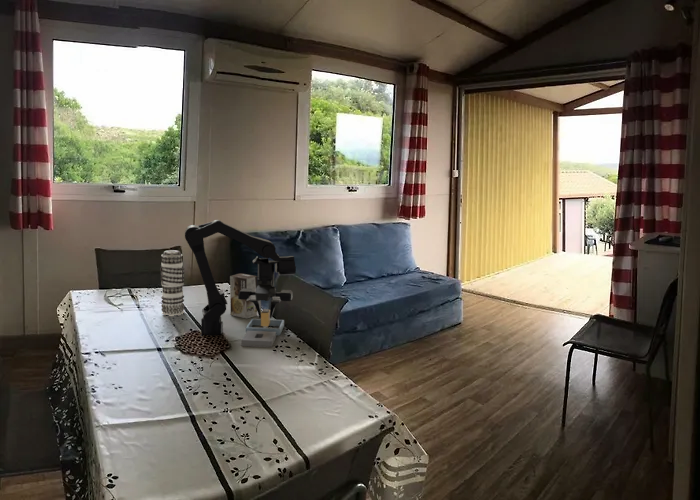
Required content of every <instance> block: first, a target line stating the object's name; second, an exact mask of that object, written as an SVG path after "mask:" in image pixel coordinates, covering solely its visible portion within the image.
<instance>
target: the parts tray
mask: <svg viewBox="0 0 700 500" xmlns="http://www.w3.org/2000/svg"><path fill="white" fill-rule="evenodd" d="M254 326H261V318H259V319H258V318H251V319H250V321H249V322H248V324H247V326H246V327H245V333H246V332H247V331H269V332H276V336H281V334H282V331H283V329H284V327H285V319H270V324H269V326H268V328H263V327H262V326H261V327H254ZM273 327H275V328H273ZM276 327H278V328H276Z"/></svg>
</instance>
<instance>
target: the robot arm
mask: <svg viewBox="0 0 700 500" xmlns="http://www.w3.org/2000/svg"><path fill="white" fill-rule="evenodd" d="M215 234H221V235H223V236H225V237H228V238H229V239H232V240H234V241H236V242H238V243H240V244H242V245H244V246H246V247H249V248H250V249H252V251H254V252H255V253H257V254H258V255H259V256H261V257H262V258H260V257H259V256H258V255H257V256H256V257H255V258H254V259H253V260H252V263H253V265H257V287H256V291H255V292H254V291H252V289H246V288H242V289H241V290H240V292H239V293H238V299H243V300H247V299H248V298H249V297H250V302H253V303H254V305H255V306H256V309H257V315H258V317H259V319H261V312H262V301H264V302H268V301H270V309H269V310H270V319H272V317H273V314H274V311H275V310H276V309H275V308H276V306H277V304H279V303H281V302H291V301H292V300H293V298H294V297H293V296H294V295H293V293H294V292H293V291H292V290H291V289H281V291H280V292H278V291H277V289H276V286H275V273H278V274H277V275H278V276H295V275H296V271H297V266H296V262H295V256H294V255H289V256H280V255H279V254H278V253H277V252H276V251H277V250H276V246H275V244H274V243H273V242H272V241H270V240H268V239H265V238H262V237H259V236H258V237H257V236H253V235H250V234H249V233H246V232H244V231H242V230H240V229H237V228H236V227H234V226H232V225H230V224H227V223H225V222H223V221H222V220H221V219H214V220H212V221H209V222H206V223H203V224H199V225H195V224H191V225H188V226H187V227H186V228H185V229H184V238H185V241H186V243H187V244H188V246H189V248H190V250H191V251H192V253H193V254H194V256H195V260H196V264H197V266H198V269H199V272H200V275H201V279H202V281H203V284H204V287H205V290H206V297H207V305H205V306H204V307H203V308H202V310H201V312H202V318H201V319H200V321H201V323H200V324H201V326H200V328H201V329H200V331H201V334H200V335H199V337H200V336H203V337H204V336H210V337H213V336H219V335H220V336H221V335H222V334H223V333H224V322H223V321H222V315H224V314H225V313H226V311H227V305H228V301H227V298H226V297H225V291H224V290H223V289H221V290H219V288H218V287H217V285H216V281H215V277H214V275H213V273H212V270H211V267H210V263H209V261H208V260H209V259H208V257H207V255H206V254H207V253H206V250H205V243H204V239H206V238H209V237H210V236H214V235H215ZM269 258H270V259H269ZM271 298H272V300H271Z"/></svg>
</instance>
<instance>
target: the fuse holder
mask: <svg viewBox="0 0 700 500" xmlns="http://www.w3.org/2000/svg"><path fill="white" fill-rule="evenodd" d="M276 338H277V335H276V332H269V331H247V332H246V331H245V334H244V335H243V337H242V338H241V339H240V346H241V347H253V348H254V347H256V348H257V347H259V348H272V347H273V345H274V343H275V340H276Z"/></svg>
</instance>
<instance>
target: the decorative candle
mask: <svg viewBox="0 0 700 500" xmlns="http://www.w3.org/2000/svg"><path fill="white" fill-rule="evenodd" d="M183 256H184V255H183V254H182V252H181V251H180V250H174V249H170V250H165V251H163V253H162V254H161V265H160V268H159V271H160V281H161V282H160V284H161V287H162V291H161V293H162V294H161V297H160V298H161V301H160V302H161V303H162V304H161V305H160V306H161V315H162V314H164V315H169V316H168V317H175V316H174V315H178V316H182V315H183V313H184V314H185V304H184V302H185V299H184V298H185V295H184V291H183V286H184V285H185V284H184V283H185V281H184V279H185V276H183V275H184V274H185V272H184V271H185V268H184V267H183V263H184V262H183ZM181 314H182V315H181ZM164 315H163V316H164Z"/></svg>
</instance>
